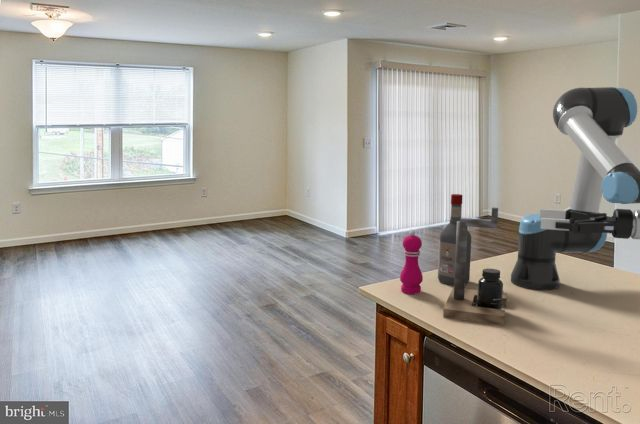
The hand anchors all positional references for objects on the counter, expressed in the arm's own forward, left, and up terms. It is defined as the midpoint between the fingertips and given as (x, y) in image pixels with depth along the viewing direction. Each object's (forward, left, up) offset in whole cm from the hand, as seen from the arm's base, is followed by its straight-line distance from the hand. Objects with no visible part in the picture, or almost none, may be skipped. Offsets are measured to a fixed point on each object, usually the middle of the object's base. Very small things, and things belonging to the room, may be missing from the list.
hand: (540, 218), depth 135 cm
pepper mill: (+33, -19, -28) cm, 47 cm away
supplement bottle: (+11, -4, -28) cm, 31 cm away
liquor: (+18, -31, -28) cm, 45 cm away
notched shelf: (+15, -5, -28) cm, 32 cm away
